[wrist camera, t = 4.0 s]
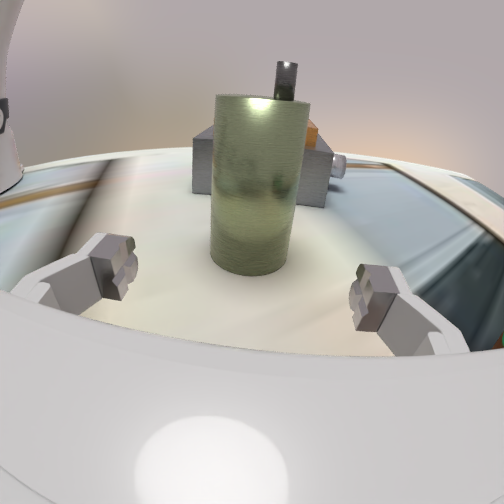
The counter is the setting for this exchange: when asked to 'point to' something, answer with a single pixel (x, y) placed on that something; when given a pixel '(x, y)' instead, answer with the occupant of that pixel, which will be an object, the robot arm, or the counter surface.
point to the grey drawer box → (312, 171)
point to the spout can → (256, 175)
